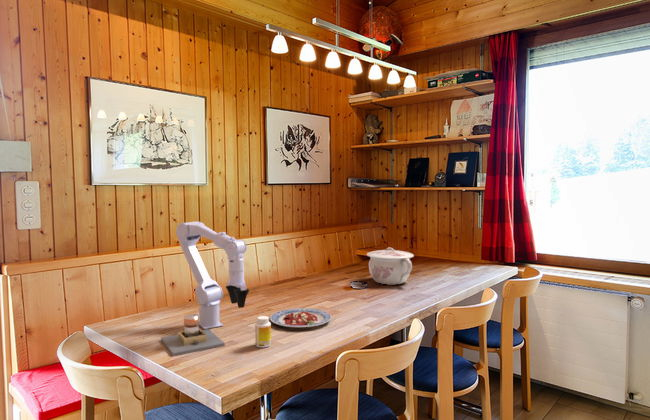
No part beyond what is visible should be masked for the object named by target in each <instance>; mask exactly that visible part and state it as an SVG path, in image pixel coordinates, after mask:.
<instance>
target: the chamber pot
mask: <svg viewBox="0 0 650 420" xmlns="http://www.w3.org/2000/svg"><path fill="white" fill-rule="evenodd" d="M366 256H367V257H369V258H370V259H369V261H368V269H369V270H368V271H369V274H370V275H371V277H372V279H373V281H375V283H378V284H380V283H381V284H380V285H383V284H387V285H386V286H397V285H396V284H398V285H401V284H404V283H405V282H406V281H407V279H408V278H409V276H410V274H411V271H412V270H413V263H412V261H411V258H414V257H415V254H413V253H412V252H409V251H404V250H398V249H397V250H396V249H394V248H393V247H387V248H385V249H379V250H378V249H377V250H373V251H369V252H367V253H366Z"/></svg>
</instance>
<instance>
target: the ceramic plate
mask: <svg viewBox="0 0 650 420" xmlns="http://www.w3.org/2000/svg"><path fill="white" fill-rule="evenodd" d="M269 319H270V322H272V323H273V324H276V325H278V326H281V327H287V328H292V329H293V328H295V329H303V328H304V329H305V328H306V327H307V328H312V327H317V326H323V325H324V324H326V323H328V322H330V321H331V320H332V315H331V314H330V313H329V312H327V311H325V310H321V309H316V308H307V307H306V308H305V307H304V308H302V307H301V308H299V307H297V308H296V307H295V308H287V309H282V310H278V311H276V312H274V313H272V314H271V315H270V317H269ZM307 328H306V329H307Z"/></svg>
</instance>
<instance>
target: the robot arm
mask: <svg viewBox="0 0 650 420" xmlns="http://www.w3.org/2000/svg"><path fill="white" fill-rule="evenodd" d="M175 235H176V237H177V240H178V242H179V244H180V248H181V250H182V252H183V254H184V256H185V259H186V261H187V264H188V266H189V268H190V270H191V272H192V275H193V277H194V279H195V281H196V284H197V286H196V287H195V289H194V292H195V295H196V300H197V302H198V304H199V309H198V313H199V314H198V317H199V326H200V327H201V329H202V330H206V329H212V328H217V327H223V326H224V324H223V323H221V322H220V303H221V300H222V299H223V297H224V292H223V289H222V287H221V286H220V285H219V284H218V282H217V281H215V280H214V279H212V278H211V277H210V275H209V272H208V270H207V268H206V266H205V264H204V261H203V259H202V257H201V254H200V253H199V250H198V248H197V246H196V245H197V243H198V242H199V240H200V239H201V236H202V237H203V238H206V239H208V240H211V241H213V242H212V243H213V245H214V246H216V247H218V248H220V249H221V250H224V251H225V254H226V257H227V259H228V272H229V273H228V280H227V282H226V285H225V289H226V290H227V293H228V295H229V298H230V299H229V300H230V303H231V304H232V305H233V304H237V308H238V309H239V308H240V309H242V308H244V307H245V305H246V299H247V295H248V294H249V292H250V289H249V288H247V284H246V281H245V266H244V265H245V263H244V262H245V261H244V260H245V259H244V253H245V252H246V251H247V244H246V242H245V240H243V239H241V238H239V239H236V238H235V237H234V236H230V235H228V234H227V232H225V231H220V232H216V231H214V230H213V229H211V228H209V227H208V226H206V225H205V223H204V222H201V221H199V220H195V221H190V222H189V221H187V222H180V223H177V227H176V230H175Z"/></svg>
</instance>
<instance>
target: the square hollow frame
mask: <svg viewBox="0 0 650 420" xmlns="http://www.w3.org/2000/svg"><path fill="white" fill-rule="evenodd" d="M202 330H203V329H202V328H200V327H199V335H198V336H193V337H188V338H185V337H184V331H178V332H177V335H178V340H179V341H180V342H181V343H182V344H183V345H184V346H186V345H191V344H194V345H197V344H198V343H201V342H207V335H206V334H205V333H204V332H203V331H202Z"/></svg>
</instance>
